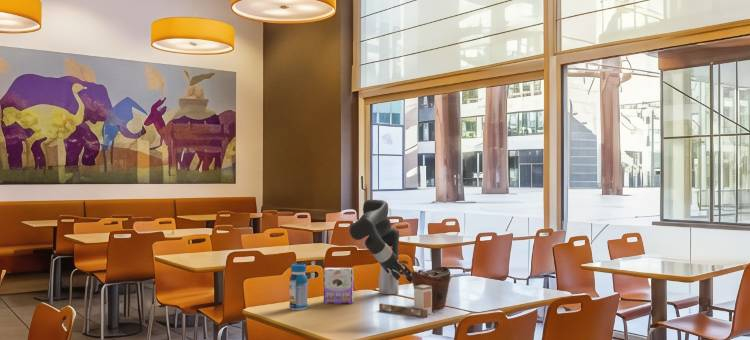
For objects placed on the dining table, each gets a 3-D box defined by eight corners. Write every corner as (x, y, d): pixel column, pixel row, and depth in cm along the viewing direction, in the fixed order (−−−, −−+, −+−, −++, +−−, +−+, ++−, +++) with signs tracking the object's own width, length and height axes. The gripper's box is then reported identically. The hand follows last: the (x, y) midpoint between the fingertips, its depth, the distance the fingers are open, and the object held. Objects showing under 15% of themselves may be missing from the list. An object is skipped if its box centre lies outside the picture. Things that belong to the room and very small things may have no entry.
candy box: (353, 301, 310) (353, 267, 310) (352, 304, 304) (352, 269, 304) (325, 301, 311) (325, 266, 311) (323, 303, 305) (323, 268, 306)
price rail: (379, 310, 290) (379, 304, 290) (380, 310, 291) (380, 303, 291) (425, 317, 276) (425, 310, 276) (427, 316, 277) (427, 309, 277)
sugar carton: (422, 315, 280) (422, 287, 280) (414, 313, 285) (414, 285, 285) (432, 313, 284) (432, 286, 284) (423, 311, 288) (423, 284, 288)
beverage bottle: (304, 310, 289) (304, 266, 289) (286, 310, 291) (286, 265, 291) (310, 307, 297) (310, 263, 298) (292, 306, 299) (292, 263, 299)
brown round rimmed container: (403, 308, 294) (404, 268, 294) (421, 300, 312) (421, 263, 312) (439, 312, 286) (440, 272, 286) (455, 305, 304) (456, 267, 304)
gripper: (400, 249, 267) (420, 275, 274) (378, 246, 278) (399, 271, 285) (390, 263, 264) (411, 288, 271) (369, 260, 275) (389, 284, 282)
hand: (405, 279), depth 278 cm, fingers open, 8 cm apart
